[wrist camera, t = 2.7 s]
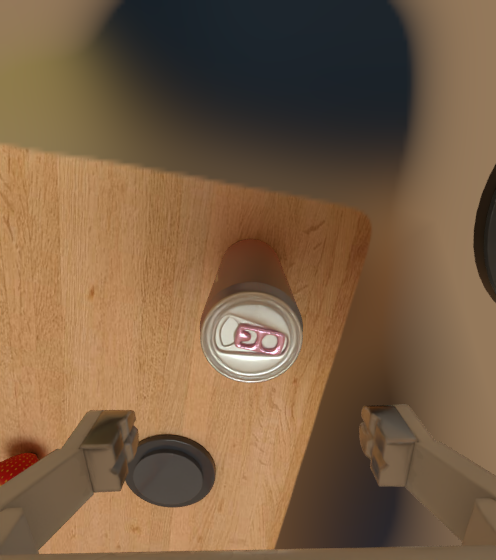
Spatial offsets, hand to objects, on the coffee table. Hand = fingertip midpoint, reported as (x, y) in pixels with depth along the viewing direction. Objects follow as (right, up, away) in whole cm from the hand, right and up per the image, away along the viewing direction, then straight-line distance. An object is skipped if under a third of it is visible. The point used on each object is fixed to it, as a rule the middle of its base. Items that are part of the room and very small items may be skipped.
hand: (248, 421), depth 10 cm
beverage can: (0, +7, +20) cm, 21 cm away
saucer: (-10, -20, +28) cm, 36 cm away
